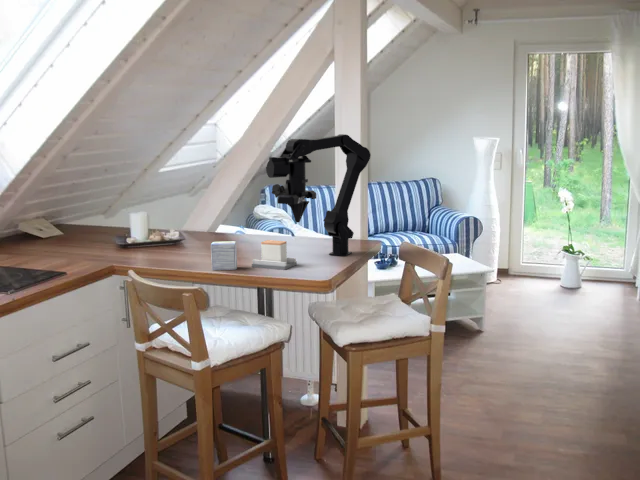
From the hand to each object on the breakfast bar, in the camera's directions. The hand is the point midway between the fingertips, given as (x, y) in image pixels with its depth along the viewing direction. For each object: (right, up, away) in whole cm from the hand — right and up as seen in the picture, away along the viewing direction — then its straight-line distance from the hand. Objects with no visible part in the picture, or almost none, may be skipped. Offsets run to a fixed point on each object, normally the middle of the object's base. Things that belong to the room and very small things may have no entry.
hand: (297, 222), depth 232 cm
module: (-8, -14, -8) cm, 17 cm away
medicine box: (-23, -16, -11) cm, 30 cm away
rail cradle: (-7, -15, -7) cm, 18 cm away
